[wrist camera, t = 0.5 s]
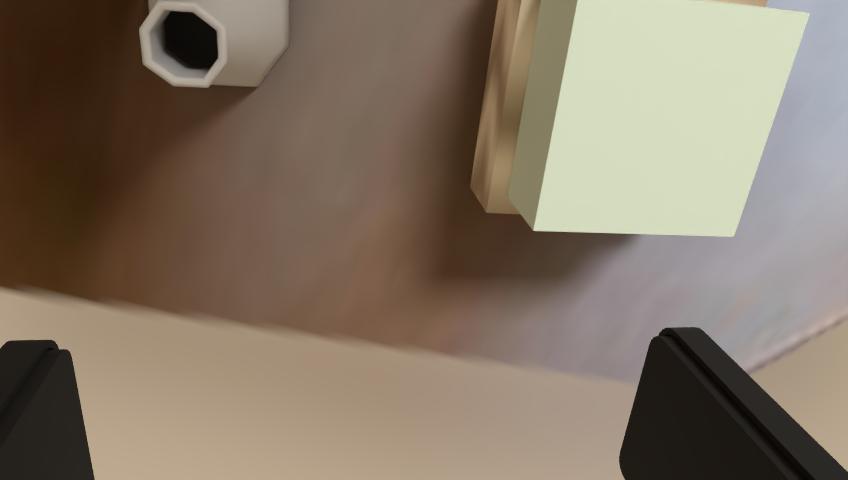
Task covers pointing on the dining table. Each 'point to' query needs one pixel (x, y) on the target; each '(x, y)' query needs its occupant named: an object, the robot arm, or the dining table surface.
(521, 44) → the birch base block
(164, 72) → the flask
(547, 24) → the sage top block
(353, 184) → the dining table surface
